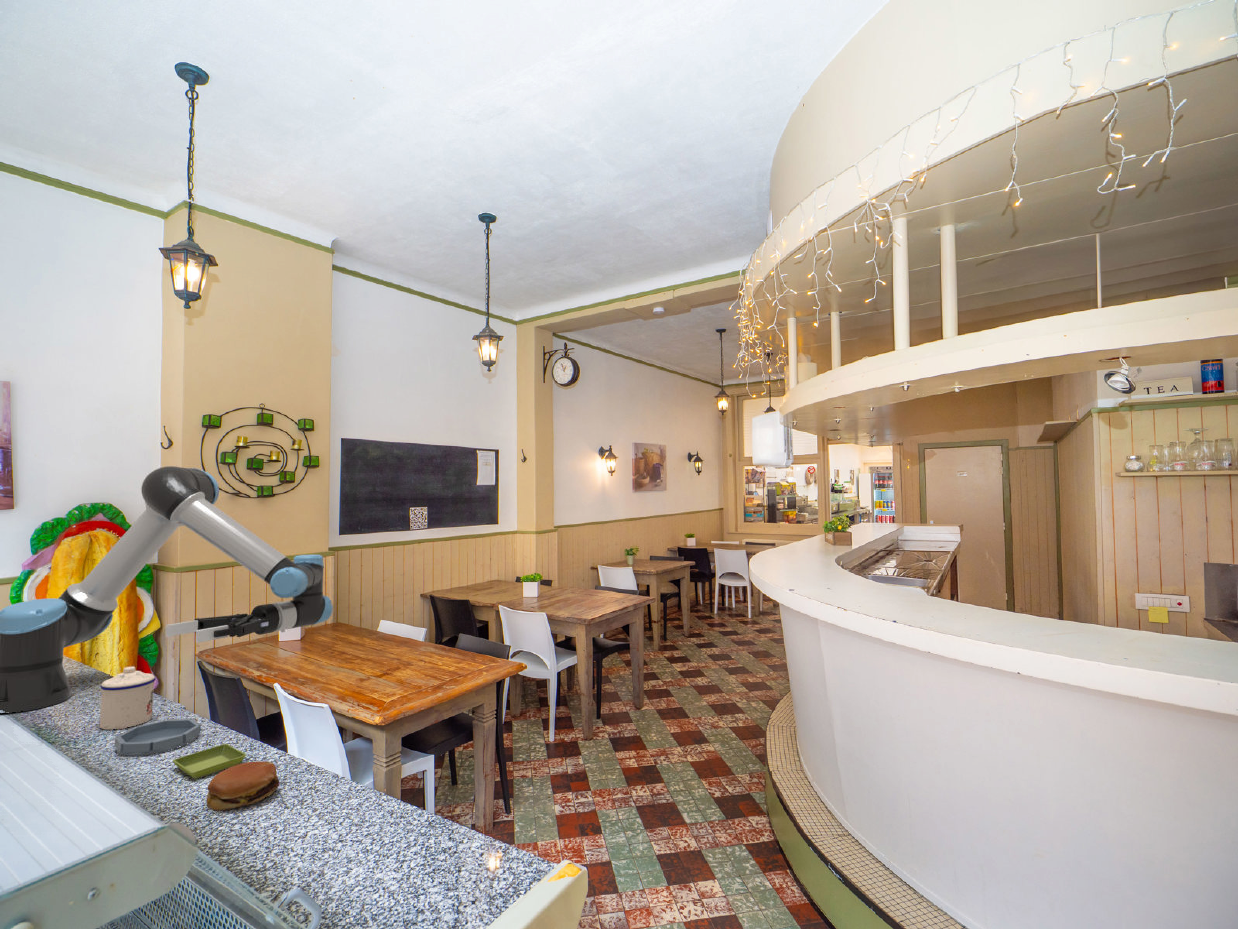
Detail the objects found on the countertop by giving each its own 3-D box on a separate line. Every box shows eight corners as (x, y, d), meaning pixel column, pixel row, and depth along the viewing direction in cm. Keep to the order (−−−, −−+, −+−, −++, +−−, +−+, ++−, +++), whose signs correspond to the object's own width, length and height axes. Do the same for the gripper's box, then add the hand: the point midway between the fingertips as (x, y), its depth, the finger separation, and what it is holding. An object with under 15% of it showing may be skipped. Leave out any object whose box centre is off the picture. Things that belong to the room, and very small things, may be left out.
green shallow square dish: (247, 766, 106) (247, 754, 106) (191, 785, 99) (191, 772, 99) (225, 754, 111) (226, 743, 111) (170, 772, 104) (171, 760, 104)
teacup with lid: (159, 721, 127) (162, 666, 128) (104, 734, 120) (108, 676, 121) (141, 709, 134) (144, 657, 135) (89, 721, 127) (92, 666, 128)
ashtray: (109, 744, 115) (110, 732, 115) (186, 726, 124) (187, 714, 125) (125, 762, 107) (126, 749, 107) (206, 741, 116) (207, 729, 117)
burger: (192, 806, 91) (193, 775, 92) (247, 780, 100) (249, 752, 101) (237, 818, 88) (239, 786, 88) (291, 790, 97) (292, 761, 97)
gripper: (301, 637, 149) (209, 656, 130) (245, 627, 161) (154, 644, 143) (301, 607, 149) (210, 622, 131) (246, 600, 162) (155, 613, 143)
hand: (181, 633), depth 137 cm, fingers open, 13 cm apart
